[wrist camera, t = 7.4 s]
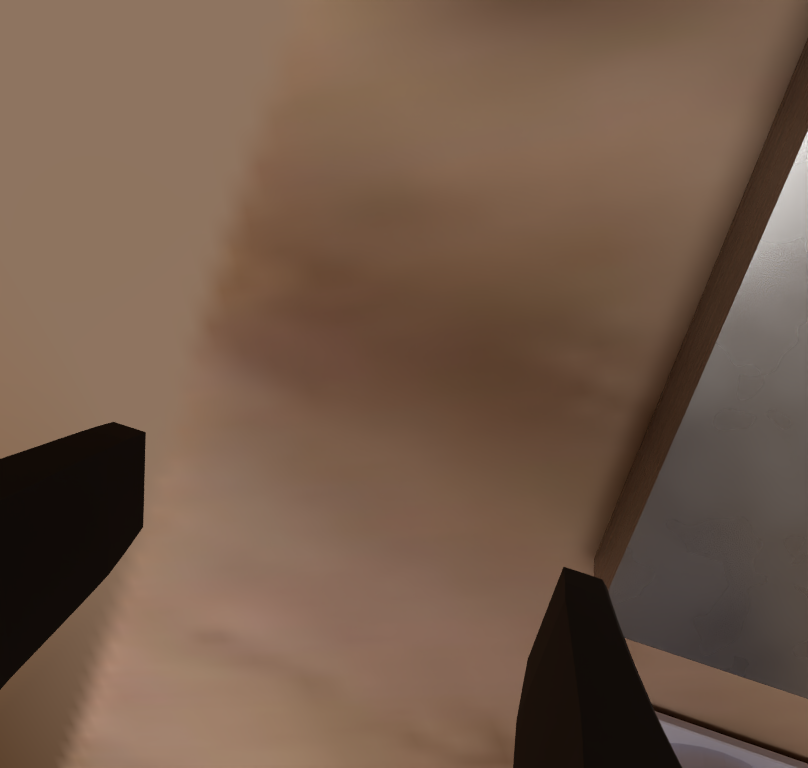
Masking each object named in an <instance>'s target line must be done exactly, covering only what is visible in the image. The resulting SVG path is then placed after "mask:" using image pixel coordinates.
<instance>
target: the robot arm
mask: <svg viewBox="0 0 808 768" xmlns="http://www.w3.org/2000/svg"><path fill="white" fill-rule="evenodd" d="M145 434H146V433H145V432H143V431H140V430H137V429H134V428H131V427H127V426H124V425H121V424H118V423H115V422H112V423H108V424H104V425H101V426H97V427H94V428H91V429H88V430H85V431H81V432H78V433H76V434H72V435H70V436H67V437H64V438H61V439H58V440H55V441H52V442H49V443H46V444H43V445H40V446H38V447H34V448H31V449H29V450H26V451H23V452H20V453H17V454H14V455H11V456H8V457H5V458H2V459H0V689H1V688H2V687H3V686H4V685H5V684H6V682H7V681H8V680H9V679H10V678H11V677H12V676H13V675H14V674H15V673H16V672H17V671H18V669H19V668H20V667H21V666H22V665H23V664H24V663H25V662H26V661H27V660H28V659H29V658H30V657H31V656H32V655H33V654H34V653H35V652H36V651H37V650H38V648H40V647H41V646H42V644H43V643H44V642H45V641H46V640H47V639H48V638H49V637H50V636H51V635H52V634H53V633H54V632H55V631H56V630H57V629H58V628H59V627H60V626H61V625H62V624H63V623H64V621H65V620H66V619H67V618H68V617H69V616H70V615H71V614H72V613H73V612H74V611H75V610H76V609H77V608H78V607H79V606H80V605H81V604H82V603H83V601H84V600H85V599H86V598H87V597H88V596H89V595H90V594H91V593H92V592H93V591H94V590H95V589H96V588H97V586H98V585H99V584H100V583H101V582H102V581H103V580H104V579H105V578H106V577H107V576H108V575H109V573H110V572H111V571H112V569H113V568H114V567H115V565H116V564H117V563H118V561H119V560H120V559H121V557H122V556H123V555H124V553H125V552H126V550H127V549H128V548H129V546H130V545H131V543H132V542H133V540H134V539H135V538H136V536H137V535H138V533H139V532H140V530H141V529H142V528H143V510H144V473H145ZM513 768H808V764H807V763H804V762H801V761H798V760H795V759H793V758H790V757H787V756H784V755H781V754H778V753H775V752H772V751H769V750H766V749H763V748H761V747H758V746H755V745H752V744H749V743H746V742H743V741H740V740H737V739H734V738H732V737H729V736H726V735H723V734H720V733H717V732H714V731H711V730H708V729H705V728H703V727H700V726H697V725H694V724H691V723H688V722H685V721H682V720H679V719H676V718H674V717H671V716H668V715H665V714H662V713H659V712H656V711H654V708H653V706H652V704H651V702H650V699H649V697H648V695H647V692H646V690H645V688H644V685H643V683H642V681H641V678H640V676H639V674H638V671H637V669H636V667H635V664H634V662H633V659H632V657H631V654H630V652H629V649H628V646H627V644H626V641H625V638H624V636H623V633H622V630H621V627H620V625H619V622H618V619H617V616H616V613H615V610H614V608H613V605H612V602H611V599H610V595H609V592H608V589H607V587H606V585H605V583H604V581H603V579H600V578H596V577H593V576H590V575H587V574H584V573H581V572H578V571H575V570H572V569H569V568H565V567H563V569H562V572H561V575H560V577H559V580H558V582H557V585H556V588H555V590H554V593H553V595H552V598H551V601H550V603H549V606H548V608H547V611H546V613H545V616H544V619H543V621H542V624H541V626H540V629H539V632H538V634H537V637H536V639H535V642H534V644H533V647H532V650H531V652H530V655H529V657H528V661H527V667H526V672H525V677H524V682H523V688H522V693H521V699H520V704H519V710H518V716H517V723H516V736H515V750H514V764H513Z"/></svg>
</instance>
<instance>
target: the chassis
mask: <svg viewBox="0 0 808 768" xmlns="http://www.w3.org/2000/svg"><path fill="white" fill-rule="evenodd" d="M594 577H596V578H600V579H603V581H604V583H605V585H606V587H607V589H608V592H609V595H610V599H611V602H612V605H613V608H614V610H615V613H616V616H617V619H618V622H619V625H620V627H621V630H622V633H623V636H624V638H627V639H630V640H633V641H636V642H639V643H642V644H645V645H648V646H651V647H654V648H657V649H660V650H663V651H666V652H669V653H672V654H675V655H678V656H681V657H684V658H687V659H690V660H693V661H696V662H699V663H702V664H705V665H708V666H711V667H714V668H717V669H720V670H723V671H726V672H729V673H732V674H735V675H738V676H741V677H744V678H747V679H750V680H753V681H756V682H759V683H762V684H765V685H768V686H771V687H774V688H777V689H780V690H783V691H786V692H789V693H792V694H795V695H798V696H801V697H804V698H807V699H808V40H807V42H806V45H805V47H804V49H803V52H802V54H801V57H800V59H799V62H798V64H797V66H796V69H795V71H794V74H793V76H792V79H791V81H790V84H789V86H788V88H787V91H786V93H785V96H784V98H783V101H782V103H781V105H780V108H779V110H778V113H777V115H776V118H775V120H774V123H773V125H772V127H771V130H770V132H769V135H768V137H767V140H766V142H765V144H764V147H763V149H762V152H761V154H760V157H759V159H758V161H757V164H756V166H755V169H754V171H753V174H752V176H751V179H750V181H749V183H748V186H747V188H746V191H745V193H744V196H743V198H742V200H741V203H740V205H739V208H738V210H737V213H736V215H735V218H734V220H733V222H732V225H731V227H730V230H729V232H728V235H727V237H726V239H725V242H724V244H723V247H722V249H721V252H720V254H719V257H718V259H717V261H716V264H715V266H714V269H713V271H712V274H711V276H710V278H709V281H708V283H707V286H706V288H705V291H704V293H703V295H702V298H701V300H700V303H699V305H698V308H697V310H696V313H695V315H694V317H693V320H692V322H691V325H690V327H689V330H688V332H687V334H686V337H685V339H684V342H683V344H682V347H681V349H680V352H679V354H678V356H677V359H676V361H675V364H674V366H673V369H672V371H671V373H670V376H669V378H668V381H667V383H666V386H665V388H664V390H663V393H662V395H661V398H660V400H659V403H658V405H657V408H656V410H655V412H654V415H653V417H652V420H651V422H650V425H649V427H648V429H647V432H646V434H645V437H644V439H643V442H642V444H641V447H640V449H639V451H638V454H637V456H636V459H635V461H634V464H633V466H632V468H631V471H630V473H629V476H628V478H627V481H626V483H625V486H624V488H623V490H622V493H621V495H620V498H619V500H618V503H617V505H616V507H615V510H614V512H613V515H612V517H611V520H610V522H609V524H608V527H607V529H606V532H605V534H604V537H603V539H602V542H601V544H600V546H599V549H598V551H597V554H596V556H595V559H594Z"/></svg>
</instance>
